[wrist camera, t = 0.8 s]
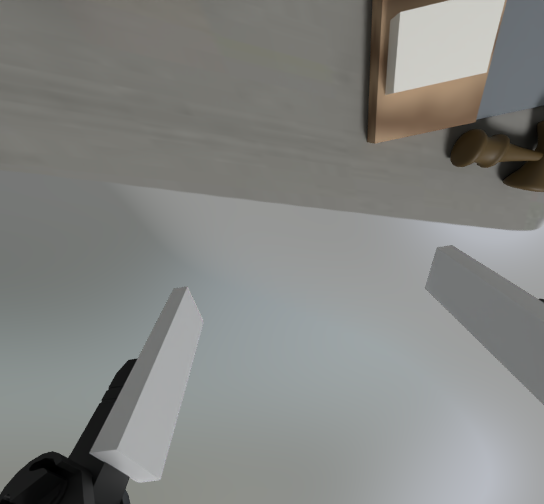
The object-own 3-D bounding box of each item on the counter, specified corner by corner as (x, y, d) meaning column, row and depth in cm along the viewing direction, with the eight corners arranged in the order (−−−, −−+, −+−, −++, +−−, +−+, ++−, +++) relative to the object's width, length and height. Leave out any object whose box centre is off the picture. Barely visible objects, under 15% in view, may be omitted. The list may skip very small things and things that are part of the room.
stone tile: (390, 20, 24) (400, 12, 22) (490, -4, 24) (508, -14, 22) (385, 95, 28) (393, 93, 26) (472, 75, 27) (486, 72, 25)
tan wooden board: (373, -38, 24) (385, -54, 21) (505, -71, 23) (530, -91, 21) (367, 142, 33) (374, 143, 31) (460, 122, 32) (475, 122, 30)
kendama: (465, 110, 32) (585, 125, 33) (433, 176, 37) (538, 187, 38) (502, 108, 27) (643, 126, 28) (459, 185, 32) (580, 198, 33)
